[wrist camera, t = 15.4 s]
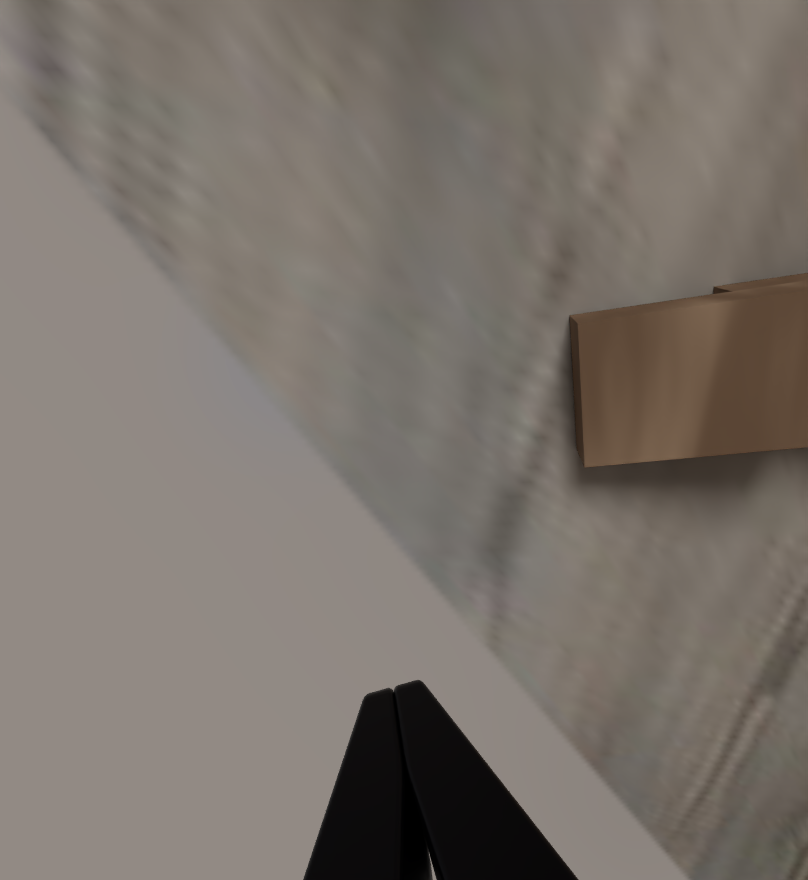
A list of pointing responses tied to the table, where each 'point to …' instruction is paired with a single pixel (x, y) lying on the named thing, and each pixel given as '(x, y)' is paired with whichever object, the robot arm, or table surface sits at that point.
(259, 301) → the table surface
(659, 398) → the domino
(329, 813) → the robot arm
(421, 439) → the table surface
